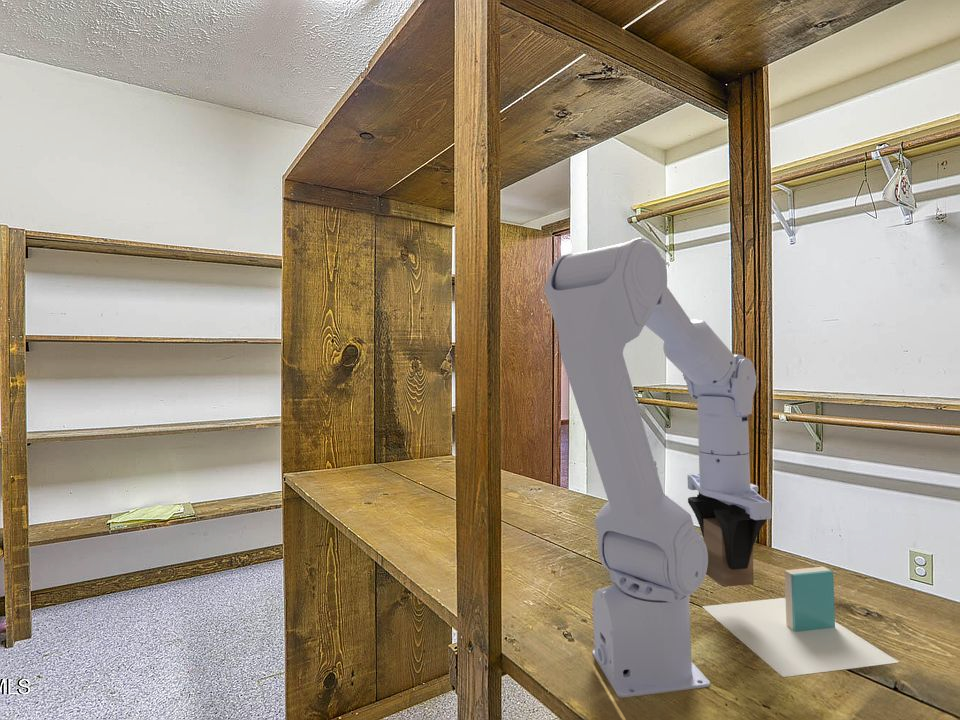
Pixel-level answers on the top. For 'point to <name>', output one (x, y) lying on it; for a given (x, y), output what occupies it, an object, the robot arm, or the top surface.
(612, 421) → the robot arm
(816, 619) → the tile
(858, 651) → the mat
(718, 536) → the walnut block
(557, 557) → the top surface
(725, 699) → the top surface
